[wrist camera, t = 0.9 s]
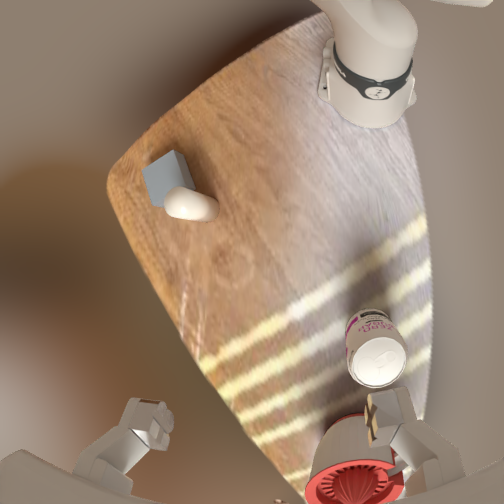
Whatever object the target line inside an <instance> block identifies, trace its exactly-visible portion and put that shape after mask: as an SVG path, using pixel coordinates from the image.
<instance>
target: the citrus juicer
mask: <svg viewBox="0 0 504 504" xmlns="http://www.w3.org/2000/svg"><path fill="white" fill-rule="evenodd" d="M364 414H365V413H356V414H350V415H347V416H344V417H342V418H340V419H339V420H337V421H336V422H335V423H334V424H332V425H331V426H330V427H329V428H328V430H327V431H326V432H325V434H324V436H323V438H322V439H321V441H320V443H319V445H318V447H317V450H316V452H315V456H314V460H313V465H312V470H311V474H310V479H309V482H308V484H307V486H306V488H305V497H306V500H307V502H308V503H309V504H382V503H387V502H391V501H394V500H396V499H397V498H398V496H399V495H400V494H401V492H402V490H403V488H404V480H403V473H402V470H403V469H405V468H406V467H408V466H409V465H408V464H407V463H406V462H405V461H404V460H403V459H402V458H401V457H400V456H399V455H398V454H397V453H396V451H395V450H394V449H393V448H392V447H391V446H390V444H389V445H384V446H379V447H373V448H370V447H369V441H368V435H367V434H368V431H369V427H367V426H366V423H365V415H364Z"/></svg>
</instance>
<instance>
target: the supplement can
mask: <svg viewBox="0 0 504 504" xmlns="http://www.w3.org/2000/svg"><path fill="white" fill-rule="evenodd" d="M345 335H346V355H347V366H348V371H349V373H350V374H351V376H352V378H353V379H354V380H356V381H357V382H358V383H360V384H361V385H364V386H367V387H371V388H381V387H384V386H387V385H389V384H391V383H393V382H394V381H395V380H396V379H398V378H399V376H400V375H401V373H402V372H403V370H404V368H405V366H406V363H407V359H408V349H407V345H406V343H405V341H404V340H403V338H402V336H401V335H400V333H399V332H398V330H397V329H396V327H395V326H394V324H393V323H392V321H391V320H390V318H389V317H388V315H386V314H385V313H384V312H383V311H381V310H378V309H375V308H366V309H363V310H361V311H358V312H357V313H356V314H355V315H353V316H352V317H351V319H350V320H349V322H348V324H347V327H346V332H345Z"/></svg>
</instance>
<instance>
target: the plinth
mask: <svg viewBox="0 0 504 504" xmlns="http://www.w3.org/2000/svg"><path fill="white" fill-rule="evenodd" d="M142 173H143V177H144V180H145V183H146V187H147V190H148V193H149V197H150V200H151V203H152V205H153V206H158V207H163V208H164V200H165V197H166V195H167V193H168V192H169V191H170V190H171V189H172V188H174V187H177V186H181V187H184V188H187V189H190V190H195V189H196V188H195V185H194V182H193V179H192V177H191V174H190V171H189V169H188V166H187V163H186V160H185V158H184V155H183V154H181V153H179V152H177V151H175V150H171V151H170V152H168V153H167V154H165V155H164V156H162V157H161V158H159V159H158V160H156V161H155V162H153V163H152V164H150V165H149V166H147V167H146V168H144V169H143V170H142Z"/></svg>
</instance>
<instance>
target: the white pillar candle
mask: <svg viewBox="0 0 504 504" xmlns="http://www.w3.org/2000/svg"><path fill="white" fill-rule="evenodd" d="M164 207H165V210H166V212H167V213H168V214H169V215H170V216H172V217H176V218H182V219H188V220H194V221H200V222H206V223H209V222H212V221H214V220H215V219H216V218H217V216H218V214H219V210H220V208H219V204H218V202H217V201H216V200H215V199H214V198H212V197H209V196H206V195H204V194H201V193H198V192H195V191H193V190H190V189H187V188H184V187H181V186H177V187H174V188H172V189H171V190H170V191H169V192H168V193H167V195H166V197H165V200H164Z"/></svg>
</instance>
